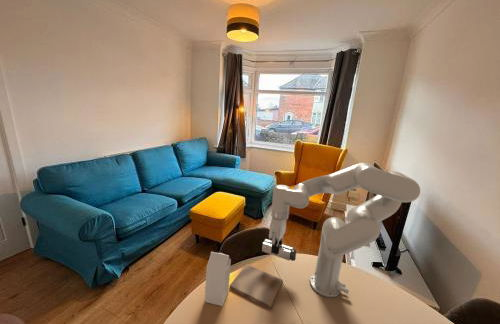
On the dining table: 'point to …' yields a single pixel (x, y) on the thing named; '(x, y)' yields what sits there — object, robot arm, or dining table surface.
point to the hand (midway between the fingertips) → (276, 250)
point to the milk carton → (217, 278)
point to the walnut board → (257, 285)
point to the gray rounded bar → (280, 250)
